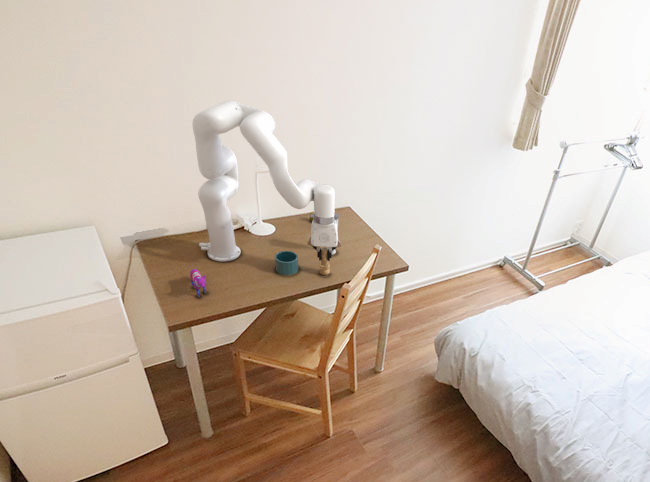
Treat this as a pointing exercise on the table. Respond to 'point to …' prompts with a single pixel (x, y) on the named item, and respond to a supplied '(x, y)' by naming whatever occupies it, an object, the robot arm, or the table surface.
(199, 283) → the toy dog
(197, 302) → the table surface
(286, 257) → the crock
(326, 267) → the pestle
